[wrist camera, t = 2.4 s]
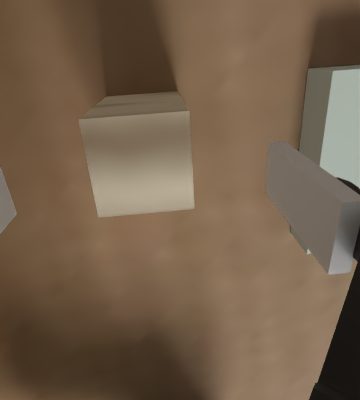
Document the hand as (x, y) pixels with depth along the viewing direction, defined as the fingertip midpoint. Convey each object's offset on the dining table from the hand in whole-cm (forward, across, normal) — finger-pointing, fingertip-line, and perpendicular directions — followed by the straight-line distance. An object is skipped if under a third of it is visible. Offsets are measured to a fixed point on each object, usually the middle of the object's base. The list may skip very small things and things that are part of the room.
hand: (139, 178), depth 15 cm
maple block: (+13, 0, 0) cm, 13 cm away
